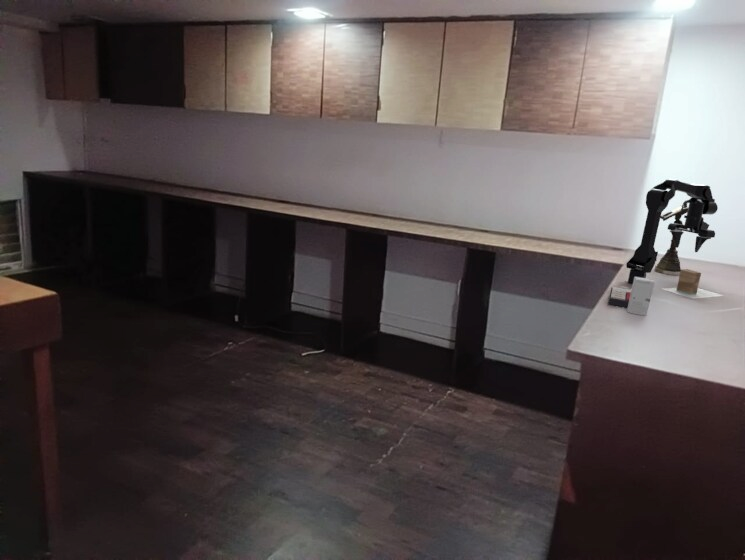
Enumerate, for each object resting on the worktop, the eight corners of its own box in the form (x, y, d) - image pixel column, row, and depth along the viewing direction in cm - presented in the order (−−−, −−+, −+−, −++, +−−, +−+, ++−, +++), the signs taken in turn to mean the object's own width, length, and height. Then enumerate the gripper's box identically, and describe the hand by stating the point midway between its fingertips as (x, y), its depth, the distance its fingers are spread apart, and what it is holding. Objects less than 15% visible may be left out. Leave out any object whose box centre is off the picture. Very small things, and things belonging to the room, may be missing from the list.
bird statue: (644, 271, 266) (659, 196, 257) (642, 266, 278) (657, 194, 269) (683, 277, 261) (700, 201, 252) (679, 271, 273) (696, 198, 264)
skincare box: (628, 313, 196) (635, 279, 192) (626, 309, 200) (633, 276, 197) (647, 316, 194) (654, 281, 191) (645, 312, 198) (652, 278, 195)
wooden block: (689, 295, 226) (694, 273, 224) (676, 290, 231) (681, 269, 229) (696, 294, 228) (701, 272, 225) (682, 290, 233) (687, 269, 230)
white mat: (692, 299, 221) (692, 298, 221) (660, 289, 233) (661, 288, 233) (724, 296, 230) (724, 295, 230) (692, 287, 242) (692, 286, 242)
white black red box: (609, 296, 203) (611, 285, 216) (607, 307, 204) (609, 296, 217) (642, 302, 198) (643, 290, 212) (640, 313, 200) (640, 301, 213)
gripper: (727, 218, 238) (718, 254, 242) (687, 211, 255) (679, 245, 259) (710, 217, 234) (701, 254, 238) (670, 210, 250) (663, 245, 254)
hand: (686, 249), depth 247 cm, fingers open, 9 cm apart
